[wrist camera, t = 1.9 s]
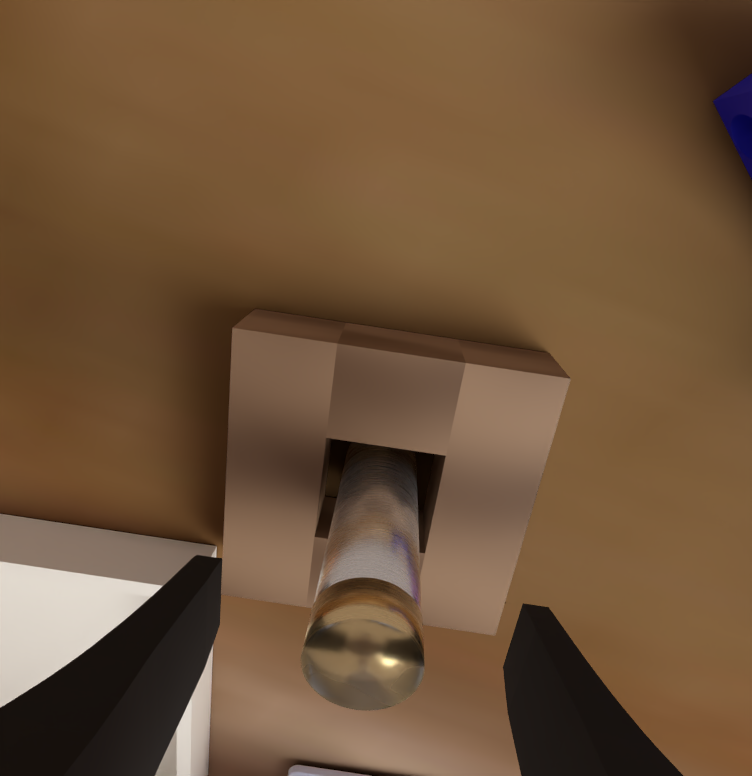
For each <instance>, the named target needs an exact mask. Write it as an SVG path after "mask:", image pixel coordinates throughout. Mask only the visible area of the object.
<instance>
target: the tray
mask: <svg viewBox="0 0 752 776" xmlns="http://www.w3.org/2000/svg"><path fill="white" fill-rule="evenodd" d="M216 549H217V546H212V545H205V544H199V543H192V542H185V541H179V540H172V539H165V538H159V537H152V536H145V535H139V534H132V533H125V532H119V531H112V530H105V529H99V528H92V527H85V526H79V525H72V524H65V523H59V522H52V521H45V520H39V519H32V518H25V517H19V516H12V515H5V514H0V707H2V706H4V705H5V704H7V703H9V702H10V701H12V700H14V699H15V698H17V697H18V696H20V695H21V694H23V693H25V692H26V691H28V690H29V689H31V688H32V687H34V686H36V685H37V684H39V683H40V682H42V681H43V680H45V679H46V678H48V677H49V676H51V675H52V674H54V673H55V672H57V671H58V670H60V669H61V668H62V667H64V666H65V665H67V664H68V663H70V662H71V661H72V660H74V659H75V658H77V657H78V656H79V655H81V654H82V653H83V652H85V651H86V650H87V649H89V648H90V647H91V646H93V645H94V644H95V643H96V642H98V641H99V640H100V639H101V638H103V637H104V636H105V635H106V634H108V633H109V632H110V631H111V630H113V629H114V628H115V627H116V626H118V625H119V624H120V623H121V622H123V621H124V620H125V619H126V618H127V617H129V616H130V615H131V614H132V613H133V612H134V611H135V610H137V609H138V608H139V607H140V606H141V605H142V604H143V603H145V602H146V601H147V600H148V599H149V598H150V597H151V596H153V595H154V594H155V593H156V592H157V591H158V590H159V589H160V588H161V587H162V586H163V585H165V584H166V583H167V582H168V581H169V580H170V579H171V578H172V577H173V576H174V575H175V574H176V573H177V572H178V571H179V570H180V569H181V568H182V567H183V566H184V565H186V564H187V563H188V562H189V561H190V560H191V559H192V558H193V557H194V556H196V555H202V556H208V557H215V558H216ZM212 659H213V646H212V649H211V652H210V655H209V657H208V660H207V663H206V666H205V669H204V671H203V673H202V675H201V677H200V680H199V682H198V684H197V686H196V688H195V690H194V692H193V695H192V697H191V699H190V701H189V703H188V705H187V708H186V710H185V712H184V714H183V716H182V718H181V720H180V722H179V725H178V727H177V729H176V731H175V733H174V735H173V737H172V740H171V742H170V744H169V746H168V748H167V750H166V752H165V755H164V757H163V759H162V761H161V763H160V765H159V767H158V770H157V772H156V775H155V776H208V768H209V740H210V713H211V686H212Z"/></svg>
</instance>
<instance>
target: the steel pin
mask: <svg viewBox="0 0 752 776" xmlns="http://www.w3.org/2000/svg"><path fill="white" fill-rule="evenodd" d="M301 667H302V671H303V674H304V677H305V679H306V681H307V682H308V683H309V685H310V686H311V687H312V688H313V689H314V691H316V692H317V693H318V694H319V695H320V696H322V697H323V698H325V699H326V700H328V701H330V702H332V703H334V704H336V705H339V706H342V707H345V708H349V709H355V710H379V709H384V708H388V707H391V706H394V705H396V704H399V703H401V702H402V701H404V700H406V699H407V698H408V697H410V696H411V695H412V694H413V693H414V692H415V691H416V690H417V688H418V687H419V685H420V683H421V681H422V679H423V676H424V642H423V619H422V612H421V583H420V555H419V527H418V499H417V470H416V455H415V451H411V450H405V449H398V448H391V447H385V446H378V445H371V444H365V443H358V442H351V444H350V446H349V448H348V450H347V454H346V459H345V463H344V468H343V472H342V477H341V481H340V486H339V491H338V495H337V500H336V504H335V509H334V513H333V518H332V523H331V527H330V532H329V536H328V541H327V545H326V550H325V555H324V559H323V564H322V568H321V573H320V577H319V582H318V586H317V591H316V596H315V600H314V604H313V607H312V610H311V614H310V619H309V623H308V628H307V632H306V637H305V641H304V646H303V651H302V655H301Z"/></svg>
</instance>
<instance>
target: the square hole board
mask: <svg viewBox="0 0 752 776" xmlns="http://www.w3.org/2000/svg"><path fill="white" fill-rule="evenodd" d="M569 383H570V377H569V376H568V375H567V374H566V373H565V371H564V370H563V369H562V368H561V367H560V365H559V364H558V363H557V362H556V361H555V359H554V358H553V357H552V356H551V355H550V353H545V352H539V351H532V350H525V349H519V348H512V347H506V346H499V345H492V344H486V343H479V342H472V341H466V340H459V339H452V338H446V337H439V336H432V335H426V334H419V333H413V332H406V331H399V330H393V329H386V328H379V327H373V326H366V325H359V324H353V323H346V322H340V321H333V320H326V319H320V318H313V317H306V316H300V315H293V314H286V313H280V312H273V311H266V310H260V309H254V310H253V311H252V312H251V313H249V314H248V315H247V316H246V317H245V318H243V319H242V320H241V321H240V322H239V323H237V324H236V325H235V326H234V327H233V328H232V347H231V371H230V394H229V418H228V442H227V466H226V489H225V513H224V537H223V561H222V584H221V595H228V596H234V597H241V598H248V599H254V600H261V601H268V602H274V603H281V604H288V605H294V606H301V607H308V608H312V607H313V604H314V600H315V596H316V591H317V586H318V582H319V577H320V573H321V568H322V564H323V559H324V555H325V550H326V545H327V541H328V536H329V532H330V527H331V523H332V518H333V513H334V509H335V504H336V500H337V498H332V497H326V496H325V491H326V483H327V475H328V467H329V459H330V451H331V443H332V439H338V440H345V441H351V442H358V443H365V444H371V445H378V446H385V447H391V448H398V449H405V450H411V451H418V452H425V453H431V454H435V455H434V460H433V464H432V469H431V474H430V479H429V484H428V489H427V494H426V499H425V504H424V508H423V511H419V510H418V527H419V555H420V583H421V612H422V619H423V625H428V626H435V627H441V628H448V629H455V630H461V631H468V632H475V633H481V634H488V635H496V631H497V628H498V624H499V621H500V618H501V614H502V611H503V607H504V604H505V600H506V597H507V594H508V590H509V587H510V583H511V580H512V577H513V573H514V570H515V566H516V563H517V560H518V556H519V553H520V549H521V546H522V543H523V539H524V536H525V532H526V529H527V526H528V522H529V519H530V515H531V512H532V509H533V505H534V502H535V498H536V495H537V492H538V488H539V485H540V481H541V478H542V475H543V471H544V468H545V464H546V461H547V458H548V454H549V451H550V447H551V444H552V441H553V437H554V434H555V430H556V427H557V424H558V420H559V417H560V413H561V410H562V407H563V403H564V400H565V396H566V393H567V390H568V386H569Z"/></svg>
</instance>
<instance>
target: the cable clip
mask: <svg viewBox="0 0 752 776" xmlns="http://www.w3.org/2000/svg"><path fill="white" fill-rule="evenodd" d="M713 103H714V105H715V107H716V109H717V111H718V113H719V115H720V117H721V119H722V121H723V123H724V125H725V127H726V129H727V131H728V133H729V135H730V137H731V139H732V141H733V143H734V145H735V147H736V149H737V151H738V153H739V155H740V157H741V159H742V161H743V163H744V165H745V167H746V169H747V171H748V173H749V175H750V177H751V179H752V74H750V75H749V76H747V77H746V78H745V79H743V80H742V81H740V82H739V83H738V84H736V85H735V86H733V87H732V88H731V89H729V90H728V91H726V92H725V93H724V94H722V95H721V96H719V97H718V98H717V99H715V100H714V101H713Z"/></svg>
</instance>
